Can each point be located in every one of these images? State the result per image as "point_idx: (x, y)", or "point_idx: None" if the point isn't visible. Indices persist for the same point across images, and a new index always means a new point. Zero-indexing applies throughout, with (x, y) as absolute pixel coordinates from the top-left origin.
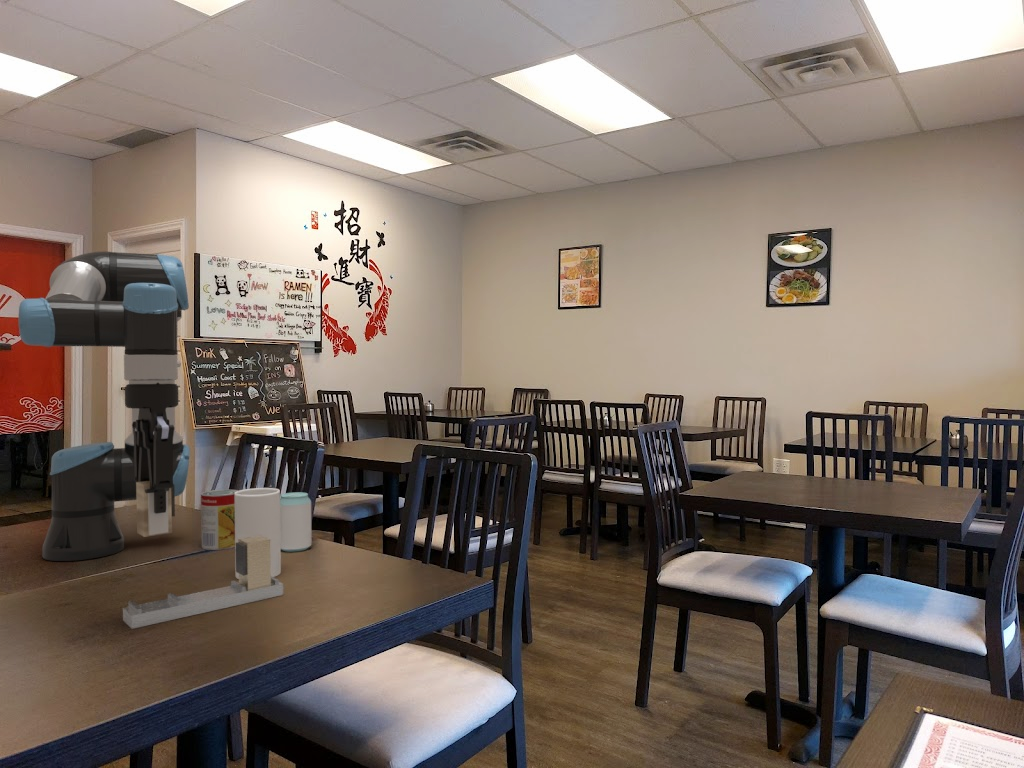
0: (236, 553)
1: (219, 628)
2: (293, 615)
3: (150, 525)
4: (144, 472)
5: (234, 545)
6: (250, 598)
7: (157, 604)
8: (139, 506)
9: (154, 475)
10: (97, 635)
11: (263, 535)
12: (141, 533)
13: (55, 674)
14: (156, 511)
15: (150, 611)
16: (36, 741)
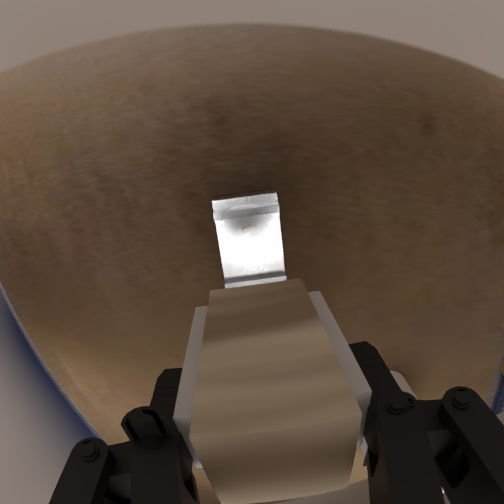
0: None
1: (142, 313)
2: (152, 393)
3: (192, 327)
4: (382, 481)
5: (502, 370)
6: None
7: (257, 251)
8: (275, 340)
9: (74, 496)
10: (214, 143)
11: (365, 449)
12: (243, 288)
13: (76, 93)
14: (161, 375)
15: (218, 234)
16: None
